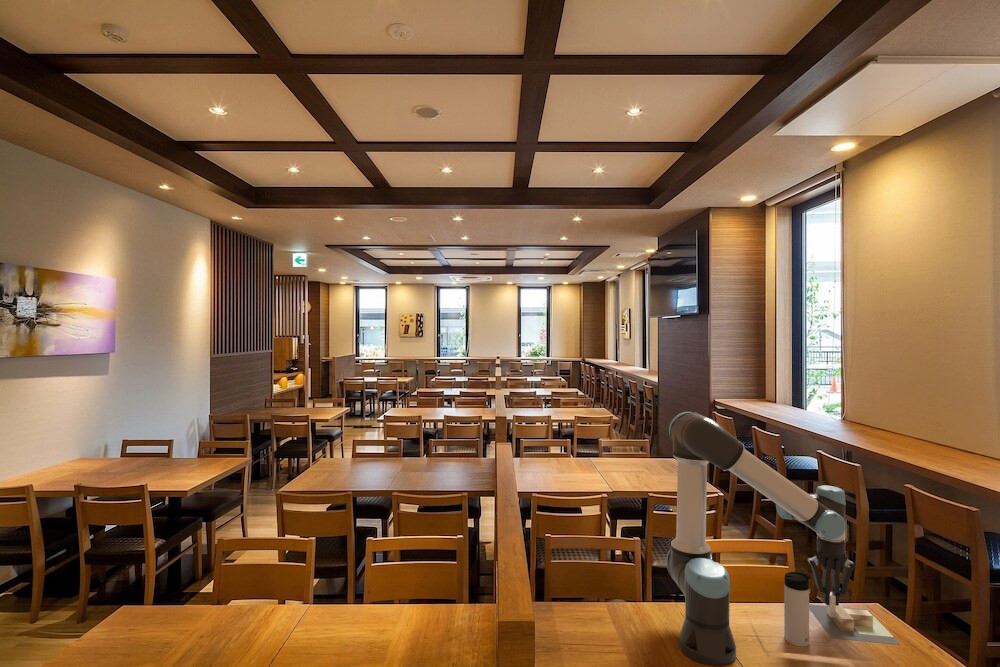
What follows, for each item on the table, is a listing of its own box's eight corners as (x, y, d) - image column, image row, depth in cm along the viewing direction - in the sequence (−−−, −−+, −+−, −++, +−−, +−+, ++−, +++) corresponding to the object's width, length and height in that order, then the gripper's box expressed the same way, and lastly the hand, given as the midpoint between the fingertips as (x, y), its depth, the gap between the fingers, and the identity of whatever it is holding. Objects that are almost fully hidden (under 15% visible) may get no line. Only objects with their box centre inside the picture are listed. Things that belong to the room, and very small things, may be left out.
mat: (831, 642, 156) (831, 637, 156) (806, 607, 175) (806, 604, 175) (901, 649, 152) (901, 644, 152) (867, 613, 172) (867, 609, 172)
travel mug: (813, 651, 151) (813, 580, 151) (788, 648, 152) (788, 578, 152) (806, 639, 157) (805, 570, 157) (781, 636, 158) (781, 568, 158)
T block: (840, 630, 160) (840, 618, 160) (827, 613, 169) (827, 602, 169) (878, 633, 158) (878, 621, 158) (862, 616, 168) (862, 605, 168)
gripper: (812, 541, 162) (812, 619, 162) (860, 544, 160) (860, 623, 160) (803, 532, 170) (803, 607, 170) (848, 535, 167) (849, 611, 167)
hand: (831, 615), depth 165 cm, fingers closed
